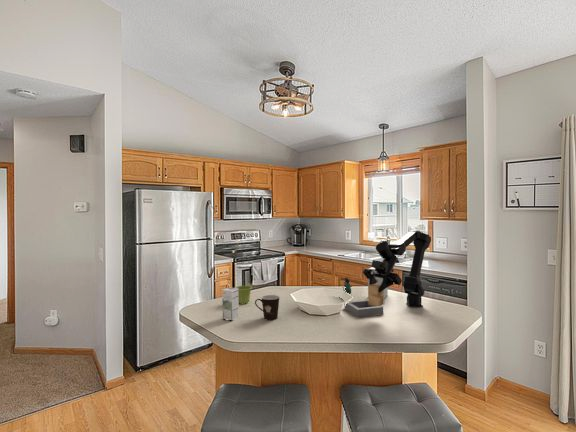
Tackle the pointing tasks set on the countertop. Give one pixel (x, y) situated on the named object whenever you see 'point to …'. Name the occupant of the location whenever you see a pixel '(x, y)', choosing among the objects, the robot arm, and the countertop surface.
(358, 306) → the collar
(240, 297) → the plant pot
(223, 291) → the syrup box
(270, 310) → the coffee mug
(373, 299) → the oak block
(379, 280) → the supplement box
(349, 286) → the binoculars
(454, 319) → the countertop surface
